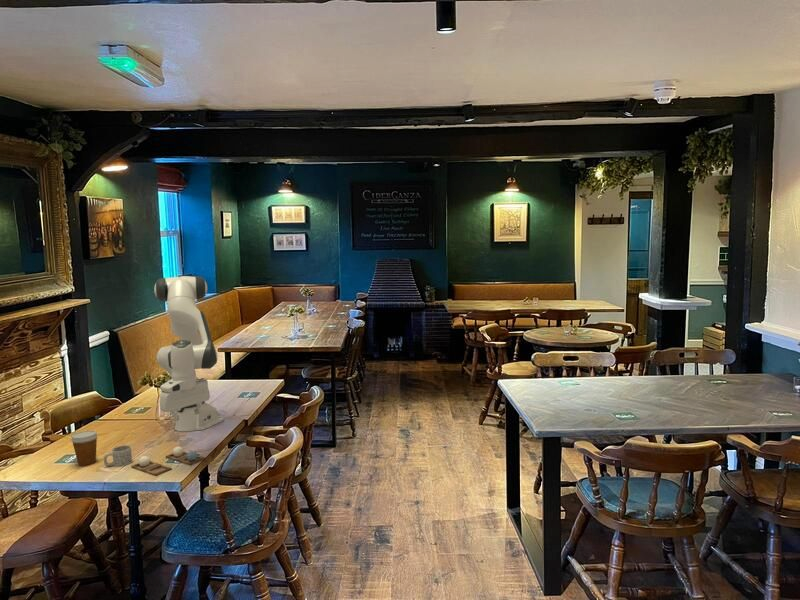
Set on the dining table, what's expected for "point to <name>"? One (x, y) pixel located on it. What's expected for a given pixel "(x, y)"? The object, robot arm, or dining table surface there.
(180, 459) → the rack
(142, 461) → the ivory ball
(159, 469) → the tray
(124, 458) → the mug
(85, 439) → the disposable coffee cup
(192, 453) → the ball blue
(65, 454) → the dining table surface
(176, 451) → the ivory ball
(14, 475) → the dining table surface
